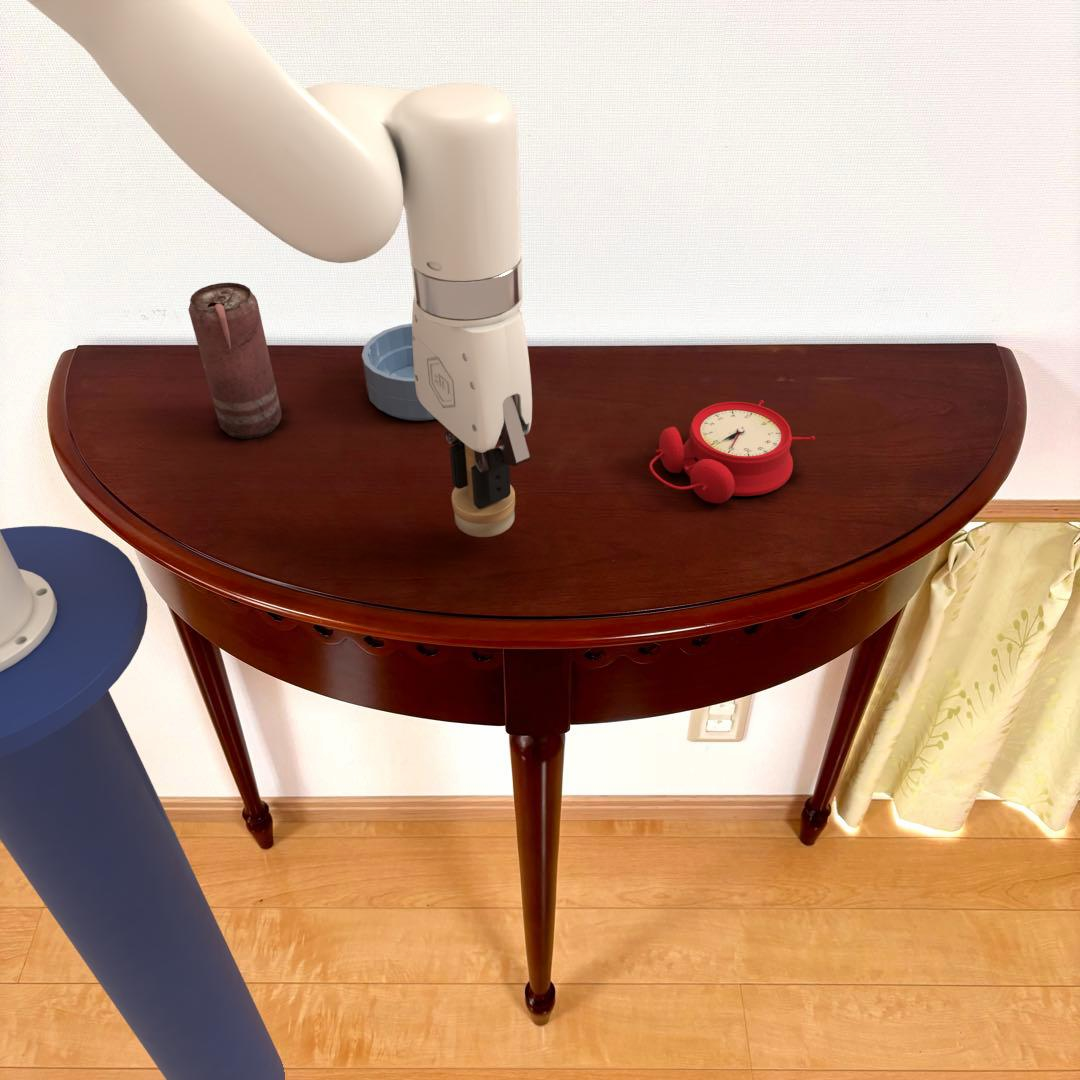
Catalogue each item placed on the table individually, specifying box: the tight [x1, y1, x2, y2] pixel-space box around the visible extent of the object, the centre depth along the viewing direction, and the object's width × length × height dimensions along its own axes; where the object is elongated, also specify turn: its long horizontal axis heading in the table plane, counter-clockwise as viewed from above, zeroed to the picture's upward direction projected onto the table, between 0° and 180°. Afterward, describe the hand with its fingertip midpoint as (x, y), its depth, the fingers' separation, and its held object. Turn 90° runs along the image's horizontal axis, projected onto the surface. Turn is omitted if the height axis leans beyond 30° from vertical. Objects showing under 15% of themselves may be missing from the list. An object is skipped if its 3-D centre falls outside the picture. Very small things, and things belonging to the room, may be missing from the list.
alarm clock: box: [648, 399, 816, 504], centre depth 88 cm, size 10×6×15 cm
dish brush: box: [451, 444, 516, 538], centre depth 77 cm, size 5×5×8 cm
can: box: [187, 282, 283, 440], centre depth 92 cm, size 6×6×14 cm
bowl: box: [361, 322, 437, 422], centre depth 99 cm, size 12×12×5 cm
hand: (481, 489), depth 78 cm, fingers closed on dish brush, 2 cm apart
